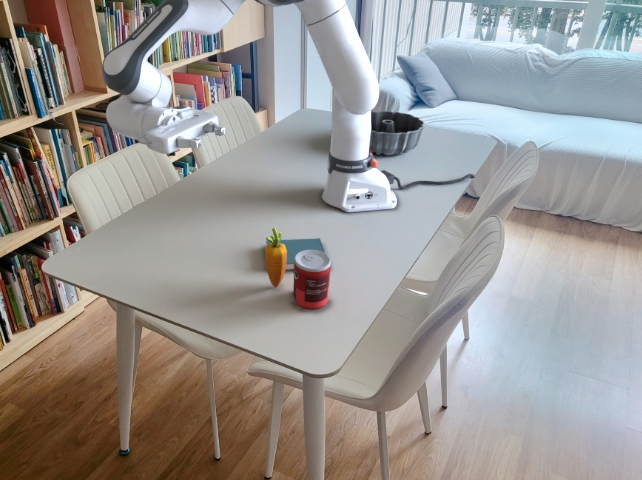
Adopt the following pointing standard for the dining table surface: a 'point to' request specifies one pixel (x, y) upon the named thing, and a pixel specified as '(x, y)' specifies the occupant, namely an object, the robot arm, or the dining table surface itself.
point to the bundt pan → (394, 132)
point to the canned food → (311, 279)
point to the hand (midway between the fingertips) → (211, 137)
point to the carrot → (275, 258)
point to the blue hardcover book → (299, 249)
